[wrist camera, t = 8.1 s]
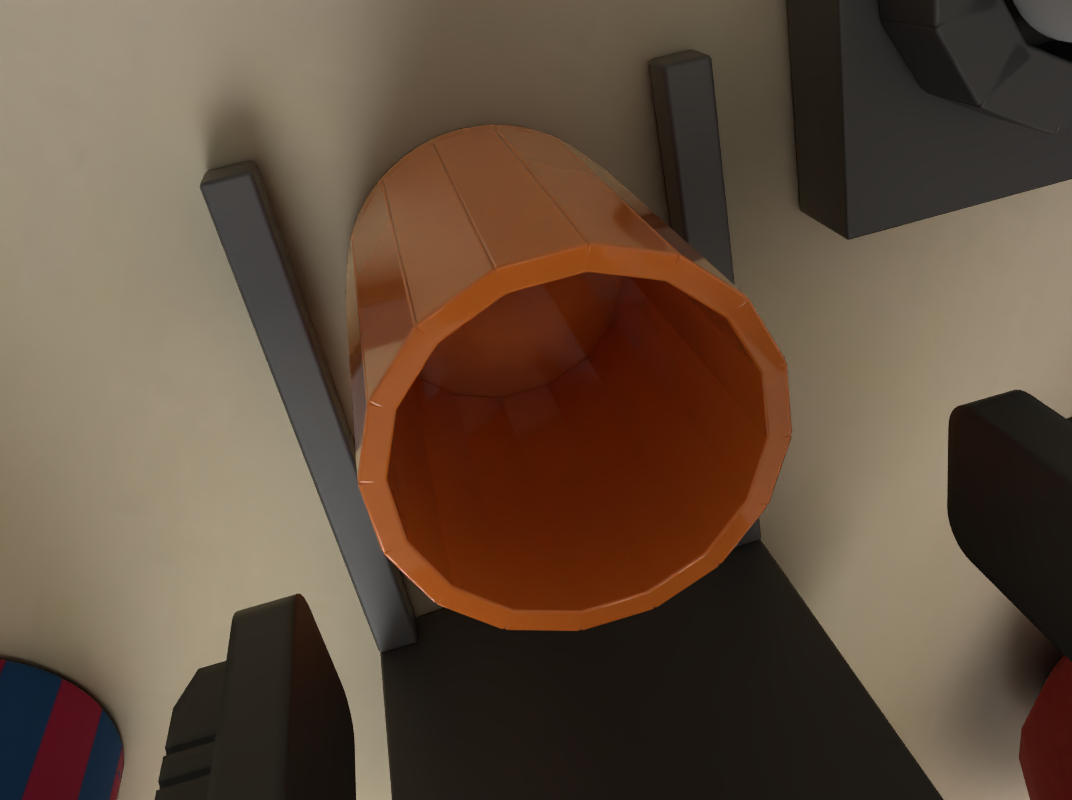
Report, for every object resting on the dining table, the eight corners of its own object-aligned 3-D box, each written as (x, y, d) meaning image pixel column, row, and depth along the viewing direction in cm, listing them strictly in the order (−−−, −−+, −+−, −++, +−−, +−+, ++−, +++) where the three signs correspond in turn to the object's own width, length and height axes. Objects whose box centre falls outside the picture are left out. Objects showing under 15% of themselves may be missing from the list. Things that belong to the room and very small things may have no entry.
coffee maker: (203, 171, 18) (-570, 1851, 2) (694, 47, 19) (2525, 693, 3) (436, 782, 27) (598, 2002, 11) (764, 679, 28) (1347, 1682, 12)
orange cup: (306, 167, 18) (298, 319, 11) (607, 90, 19) (774, 192, 12) (392, 430, 21) (427, 678, 14) (650, 358, 22) (803, 565, 15)
